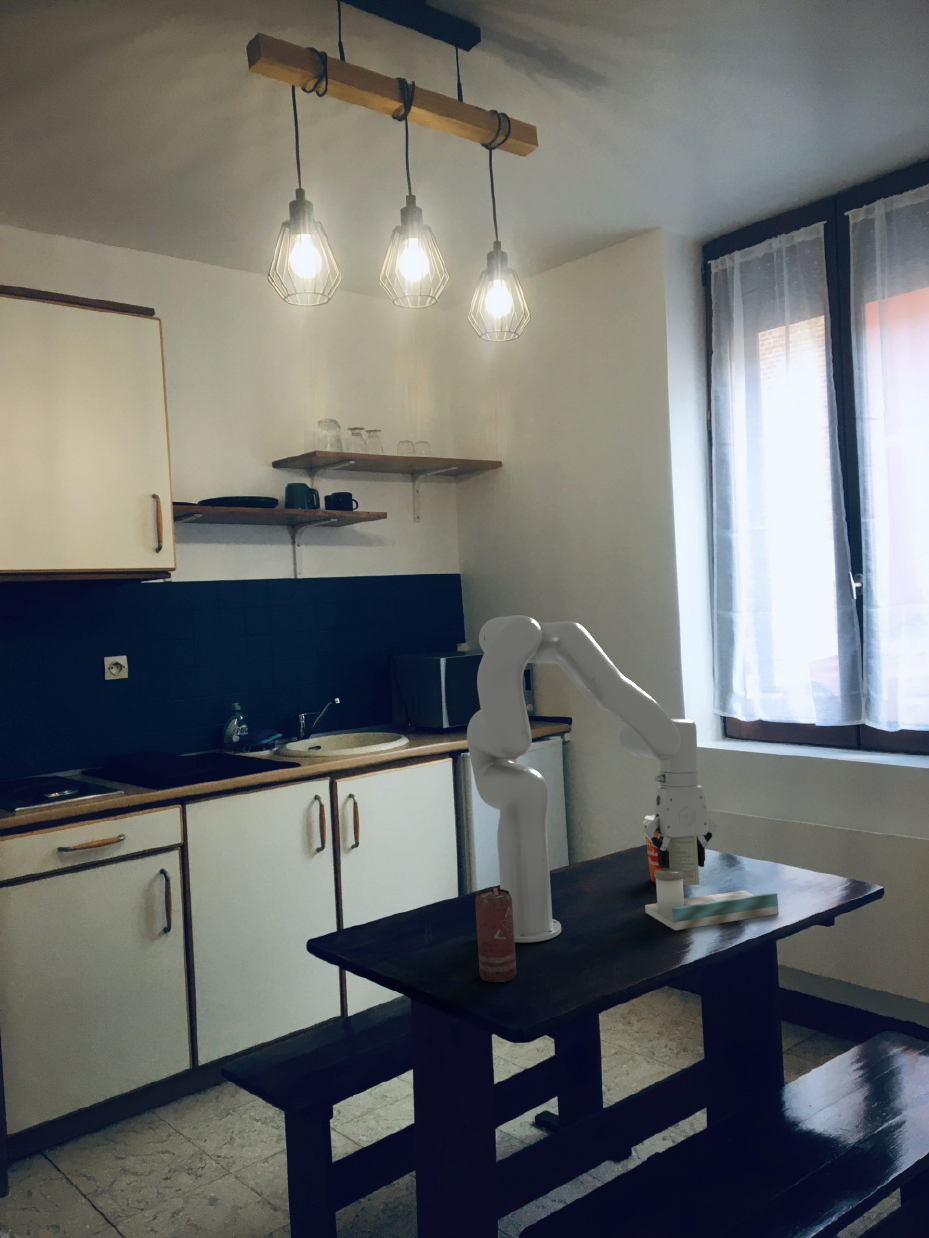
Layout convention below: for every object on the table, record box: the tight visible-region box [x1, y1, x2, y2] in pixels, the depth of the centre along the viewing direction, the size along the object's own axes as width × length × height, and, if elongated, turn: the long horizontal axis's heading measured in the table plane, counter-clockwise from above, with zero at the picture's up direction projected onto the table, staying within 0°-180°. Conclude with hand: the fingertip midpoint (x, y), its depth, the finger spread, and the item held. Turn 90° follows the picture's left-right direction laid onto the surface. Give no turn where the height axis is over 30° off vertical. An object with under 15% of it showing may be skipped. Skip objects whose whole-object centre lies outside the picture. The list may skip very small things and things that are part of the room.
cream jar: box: [654, 868, 685, 917], centre depth 179 cm, size 5×5×8 cm
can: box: [474, 887, 517, 984], centre depth 156 cm, size 6×6×14 cm
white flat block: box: [644, 890, 779, 931], centre depth 182 cm, size 22×12×4 cm, turn 106°
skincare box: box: [666, 835, 700, 886], centre depth 191 cm, size 6×4×12 cm
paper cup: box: [642, 814, 660, 884], centre depth 207 cm, size 8×8×14 cm
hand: (681, 866), depth 191 cm, fingers closed on skincare box, 7 cm apart
